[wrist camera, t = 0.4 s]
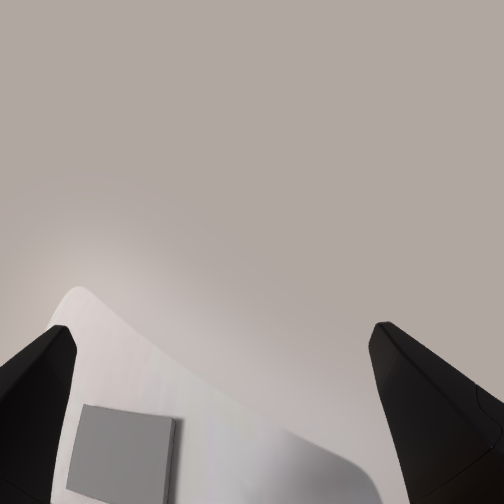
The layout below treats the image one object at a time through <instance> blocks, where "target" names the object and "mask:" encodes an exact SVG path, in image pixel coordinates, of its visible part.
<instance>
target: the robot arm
mask: <svg viewBox="0 0 504 504" xmlns="http://www.w3.org/2000/svg"><path fill="white" fill-rule="evenodd" d="M368 347H369V353H370V357H371V361H372V366H373V371H374V375H375V380H376V385H377V389H378V393H379V396H380V400H381V403H382V406H383V409H384V412H385V415H386V418H387V421H388V425H389V428H390V432H391V435H392V438H393V442H394V445H395V448H396V452H397V456H398V459H399V462H400V466H401V470H402V474H403V477H404V481H405V485H406V489H407V493H408V498H409V501H410V504H504V403H503V402H501V401H500V400H498V399H497V398H495V397H494V396H492V395H491V394H490V393H488V392H487V391H485V390H484V389H483V388H481V387H480V386H479V385H477V384H475V383H474V382H473V381H472V380H470V379H469V378H468V377H466V376H465V375H464V374H462V373H461V372H460V371H458V370H457V369H455V368H454V367H452V366H451V365H450V364H448V363H447V362H446V361H444V360H443V359H442V358H440V357H439V356H437V355H436V354H435V353H433V352H432V351H431V350H429V349H428V348H426V347H425V346H424V345H422V344H421V343H419V342H418V341H417V340H415V339H414V338H412V337H411V336H410V335H408V334H407V333H405V332H404V331H403V330H401V329H400V328H398V327H397V326H395V325H394V324H392V323H391V322H388V321H387V322H379V323H377V324H376V325H375V327H374V330H373V333H372V335H371V338H370V341H369V346H368ZM76 355H77V347H76V344H75V341H74V339H73V337H72V335H71V333H70V330H69V328H68V327H67V326H63V325H54V326H53V327H51V328H50V329H49V330H47V331H46V332H45V333H43V334H42V335H41V336H39V337H38V338H37V339H36V340H34V341H33V342H32V343H30V344H29V345H28V346H26V347H25V348H24V349H23V350H21V351H20V352H19V353H18V354H16V355H15V356H14V357H12V358H11V359H10V360H9V361H7V362H6V363H5V364H4V365H3V366H1V367H0V504H50V501H51V492H52V483H53V476H54V469H55V463H56V457H57V451H58V445H59V440H60V435H61V430H62V426H63V421H64V417H65V412H66V408H67V404H68V400H69V395H70V390H71V383H72V377H73V371H74V366H75V360H76Z"/></svg>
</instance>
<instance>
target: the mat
mask: <svg viewBox="0 0 504 504" xmlns="http://www.w3.org/2000/svg"><path fill="white" fill-rule="evenodd" d="M175 423H176V422H175V420H174V419H173V418H170V417H160V416H151V415H143V414H136V413H129V412H123V411H117V410H111V409H105V408H100V407H95V406H90V405H86V404H84V405H83V409H82V412H81V416H80V420H79V425H78V429H77V433H76V438H75V442H74V447H73V452H72V457H71V462H70V467H69V473H68V479H67V485H66V489H68V490H71V491H74V492H76V493H79V494H82V495H85V496H88V497H91V498H94V499H97V500H100V501H103V502H106V503H110V504H167V502H168V490H169V479H170V468H171V458H172V449H173V440H174V431H175Z"/></svg>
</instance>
